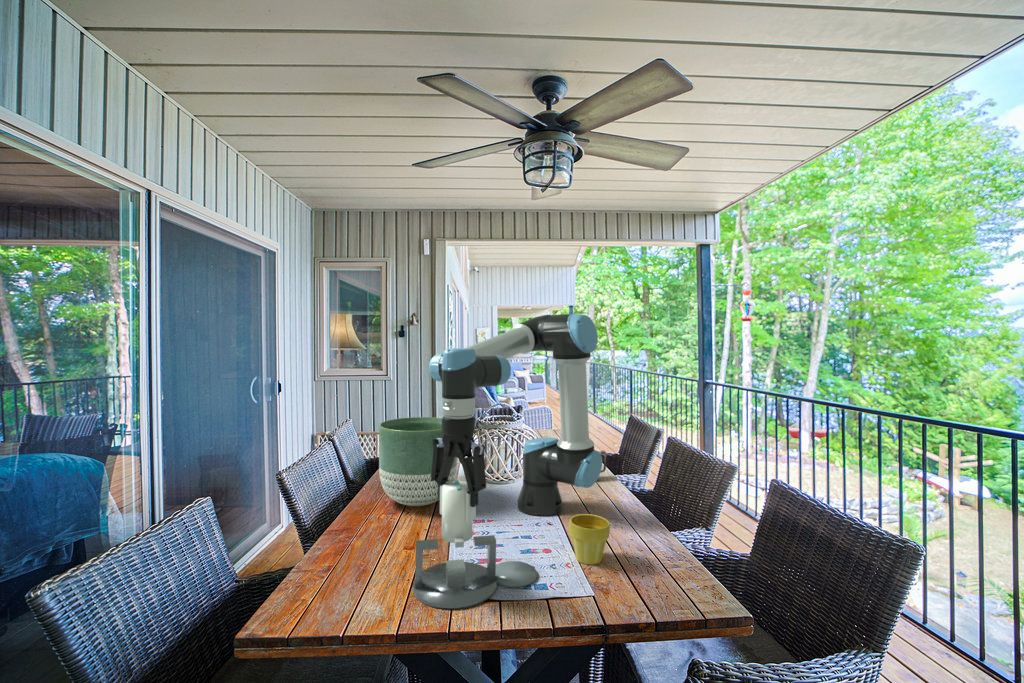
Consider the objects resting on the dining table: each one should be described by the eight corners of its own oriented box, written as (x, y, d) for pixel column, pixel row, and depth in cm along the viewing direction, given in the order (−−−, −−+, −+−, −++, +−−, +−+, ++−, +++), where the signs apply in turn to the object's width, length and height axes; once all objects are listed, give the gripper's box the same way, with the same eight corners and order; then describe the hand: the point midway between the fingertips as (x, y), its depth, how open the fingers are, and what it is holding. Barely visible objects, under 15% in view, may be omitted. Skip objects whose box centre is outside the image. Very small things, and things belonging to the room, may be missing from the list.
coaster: (530, 562, 116) (530, 559, 116) (541, 585, 106) (542, 581, 106) (487, 566, 114) (487, 562, 114) (494, 589, 103) (494, 586, 103)
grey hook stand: (489, 562, 116) (490, 521, 116) (504, 604, 98) (505, 556, 98) (413, 568, 112) (413, 526, 112) (412, 613, 94) (413, 563, 94)
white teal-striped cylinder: (440, 526, 110) (440, 477, 110) (469, 524, 112) (470, 475, 111) (443, 548, 99) (443, 493, 99) (475, 546, 100) (476, 491, 100)
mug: (581, 481, 184) (582, 451, 184) (580, 476, 191) (580, 447, 191) (607, 482, 183) (607, 452, 183) (605, 477, 190) (605, 448, 190)
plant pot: (611, 553, 122) (612, 516, 122) (606, 571, 112) (607, 531, 112) (573, 547, 126) (573, 511, 126) (564, 564, 116) (565, 525, 116)
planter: (360, 509, 151) (362, 426, 151) (407, 485, 175) (408, 414, 175) (431, 522, 141) (432, 434, 141) (470, 495, 166) (471, 420, 166)
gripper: (415, 413, 107) (414, 511, 107) (483, 423, 96) (482, 532, 97) (437, 409, 114) (436, 502, 114) (503, 418, 103) (502, 520, 103)
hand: (457, 516), depth 105 cm, fingers closed on white teal-striped cylinder, 7 cm apart
